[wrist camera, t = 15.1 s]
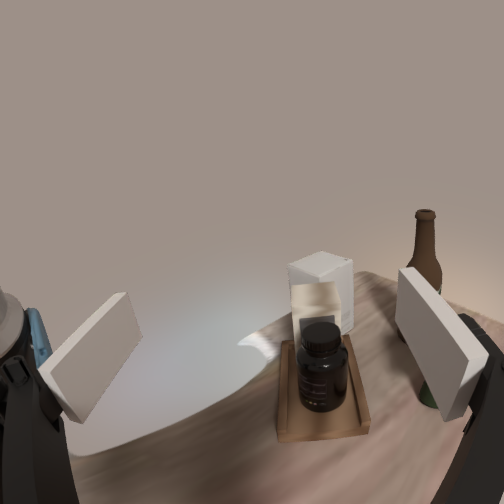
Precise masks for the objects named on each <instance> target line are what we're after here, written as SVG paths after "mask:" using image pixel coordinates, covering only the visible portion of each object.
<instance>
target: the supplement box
mask: <svg viewBox="0 0 504 504" xmlns="http://www.w3.org/2000/svg"><path fill="white" fill-rule="evenodd" d="M287 267H288V276H289V285H290V294H291V285H302V284H312V283H322V282H332V281H334V282H335V285H336V288H337V291H338V294H339V297H340V300H341V335H344V334H345V333H347V332H348V331H350V330H351V329H353V327H354V281H353V260H351V259H348V258H344V257H340V256H336V255H333V254H330V253H327V252H323V251H319V252H317V253H315V254H312V255H310V256H307V257H305V258H302V259H300V260H297V261H295V262H292V263H289V264H288V265H287Z"/></svg>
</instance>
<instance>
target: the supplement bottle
mask: <svg viewBox="0 0 504 504" xmlns="http://www.w3.org/2000/svg"><path fill="white" fill-rule="evenodd" d="M348 357H349V356H348V350H347V348H346V346H345V345H344V344H343V343H342V339H341V331H340V328H339V326H337V325H336V324H335V323H332V322H326V321H320V322H314V323H311V324H310V325H308V326H306V327H305V328H304V330H303V331H302V345H301V346H300V347H299V349H298V351H297V353H296V368H297V378H298V389H299V398H300V402H301V403H302V405H303V406H304V407H305V408H306V409H308V410H310V411H312V412H317V413H326V412H330V411H333V410H335V409H337V408H338V407H340V406H341V405H342V404H343V402H344V401H345V399H346V394H347V380H348Z"/></svg>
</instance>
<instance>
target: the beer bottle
mask: <svg viewBox="0 0 504 504" xmlns="http://www.w3.org/2000/svg"><path fill="white" fill-rule="evenodd" d="M415 218H416V219H417V222H416V237H415V248H414V253H413V258H412V259H411V261H410V262H409V263H408V265H407V266H406V268H409V267H414V268H415V269H416V270H417V271H418V272H419V273H420V274H421V275H422V276H423V277H424V278H425V280H426V281H427V282H428V283H429V284H430V285H431V286H432V287H433V288H434V289H435V290H436V291H437V293H438V294H439V295H440V294H441V285H442V271H441V267H440V265H439V263H438V261H437V259H436V256H435V230H434V219H435V218H436V215H435V212H434V211H432V210H427V209H421V210H418V211H417V212H416V215H415ZM398 335H399V336H400V338H401V339H402V340H403V342H404V343H407V342H406V340H405V339H404V337H403V335H402V333H401V331H400V329H399V327H398Z"/></svg>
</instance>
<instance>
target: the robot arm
mask: <svg viewBox="0 0 504 504" xmlns="http://www.w3.org/2000/svg"><path fill="white" fill-rule="evenodd" d="M395 322H396V324H397V326H398V327H399V329H400V331H401V333H402V335H403V337H404V339H405V340H406V342H407V344H408V346H409V348H410V350H411V352H412V354H413V356H414V358H415V360H416V362H417V364H418V366H419V368H420V370H421V372H422V374H423V376H424V378H425V380H426V382H427V384H428V387H429V389H430V391H431V393H432V395H433V397H434V400H435V402H436V404H437V406H438V408H439V411H440V413H441V415H442V418H443V420H444V422H447V421H450V420H453V419H456V418H459V417H462V416H463V415H464V413H465V411H466V409H467V407H468V405H469V406H470V408H471V410H472V412H473V413H472V415H471V417H470V419H469V421H468V422H467V424H466V426H465V428H464V430H463V432H464V435H463V437H462V440H461V442H460V445H459V447H458V450H457V452H456V454H455V457H454V459H453V461H452V463H451V465H450V467H449V469H448V472H447V474H446V476H445V478H444V480H443V481H442V483H441V485H440V487H439V489H438V491H437V493H436V495H435V496H434V498H433V500H432V502H431V503H430V504H499V502H500V500H501V497H502V494H503V492H504V354H503V353H502V352H501V350H500V349H499V348H498V347H497V345H496V344H495V343H494V342H493V341H492V339H491V338H490V337H489V336H488V335H487V334H486V332H485V331H484V330H483V329H482V328H481V327H480V325H479V324H478V323H477V322H476V321H475V320H474V319H473V318H471V317H470V316H468V315H466V314H464V313H463V314H458V315H457V314H456V313H455V312H454V311H453V309H452V308H451V307H450V306H449V305H448V304H447V303H446V301H445V300H444V299H443V298H442V297H441V296H440V295H439V294H438V293H437V291H436V290H435V289H434V288H433V287H432V286H431V285H430V284H429V283H428V282H427V281H426V280H425V278H424V277H423V276H422V275H421V274H420V273H419V272H418V271H417V270H416V269H415V268H414V267H409V268H401V269H399V273H398V290H397V303H396V314H395ZM141 339H142V334H141V332H140V329H139V326H138V323H137V320H136V318H135V315H134V312H133V309H132V306H131V303H130V300H129V296H128V293H127V292H122V293H121V292H120V293H115V294H114V295H112V296H111V297H110V298H109V299H108V300H107V301H106V302H105V303H104V304H103V305H102V306H101V307H100V308H99V309H98V310H97V311H95V312H94V313H93V314H92V315H91V316H90V317H89V318H88V319H87V320H86V321H85V322H84V323H83V324H82V325H81V326H80V327H79V328H78V329H77V330H76V331H75V332H74V333H73V334H72V335H71V336H70V337H69V338H68V339H67V340H66V341H65V342H64V343H63V344H62V345H61V346H60V347H59V348H58V349H57V350H56V351H55V352H54V353H52V349H51V346H50V343H49V340H48V336H47V333H46V330H45V327H44V324H43V321H42V319H41V316H40V314H39V312H38V310H37V309H35V308H27V310H25V311H24V309H23V308H22V306H21V304H20V302H19V301H18V299H17V298H15V297H14V296H13V295H11V294H8V293H3V292H2V290H1V288H0V504H79V500H78V496H77V492H76V488H75V484H74V480H73V475H72V471H71V466H70V460H69V455H68V449H67V443H66V436H65V429H64V422H63V419H62V417H61V416H60V414H61V413H62V411H64V412H65V414H66V415H67V417H68V418H69V419H70V420H71V421H74V422H77V423H81V424H83V423H84V422H85V420H86V419H87V417H88V416H89V414H90V412H91V411H92V410H93V408H94V407H95V405H96V404H97V402H98V401H99V399H100V398H101V396H102V395H103V393H104V392H105V390H106V389H107V387H108V386H109V384H110V383H111V381H112V380H113V379H114V377H115V376H116V374H117V373H118V371H119V370H120V368H121V367H122V365H123V364H124V363H125V361H126V360H127V358H128V357H129V356H130V354H131V353H132V351H133V350H134V348H135V347H136V346H137V344H138V342H139V341H140V340H141Z"/></svg>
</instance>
